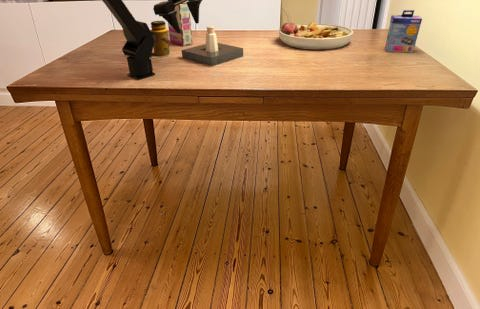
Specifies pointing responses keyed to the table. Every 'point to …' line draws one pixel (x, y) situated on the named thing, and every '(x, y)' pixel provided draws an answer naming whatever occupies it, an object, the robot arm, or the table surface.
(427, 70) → the table surface
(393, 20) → the ink cartridge box
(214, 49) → the pepper shaker
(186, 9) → the candy bar box
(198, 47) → the holder block
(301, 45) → the bowl
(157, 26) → the condiment
